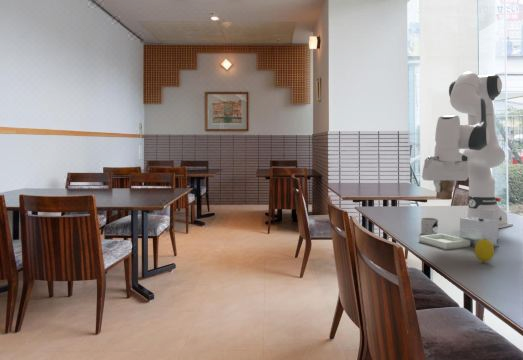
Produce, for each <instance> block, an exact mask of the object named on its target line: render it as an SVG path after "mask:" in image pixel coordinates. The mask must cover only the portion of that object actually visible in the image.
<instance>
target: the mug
mask: <svg viewBox="0 0 523 360" xmlns="http://www.w3.org/2000/svg"><path fill="white" fill-rule="evenodd" d="M438 222H439V220H438V218H435V217H421V225H420V229H421V230H420V232H421V233H420V234H421V235H422V236H423V235H433V234H438V228H439V227H438V225H439V223H438Z"/></svg>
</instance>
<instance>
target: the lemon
mask: <svg viewBox="0 0 523 360" xmlns="http://www.w3.org/2000/svg"><path fill="white" fill-rule="evenodd" d="M494 248H495V247H493V245H492V243H491V242H490V241H488V240H486V239H483V240H480V241H478V242H477V244H476V246H475V247H474V254H475V257H476V258H477V260H480V261H481V262H482V263H483V264H485V263H486V262H489V261H490V260H492V259H493V257H494V255H495V249H494Z"/></svg>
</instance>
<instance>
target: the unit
mask: <svg viewBox="0 0 523 360" xmlns="http://www.w3.org/2000/svg"><path fill="white" fill-rule="evenodd" d="M459 238H463V239H467V240H470V247H472V248H475V246H476V244H477V242H478V241H480V240H483V239H486V240H488V241H490V242H491V243H492V245H493V247H494V248H500V245H499V244H497V243H498V242H497V241H498V239H497V220H491V219H486V218H480V217H466V216H465V217H460V218H459Z"/></svg>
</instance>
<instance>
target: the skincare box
mask: <svg viewBox="0 0 523 360" xmlns="http://www.w3.org/2000/svg"><path fill="white" fill-rule="evenodd" d="M479 216H480V218H486V219H491V220H497V240H499V232H500V231H499V230H500V228H499V210H493V209H480V210H479Z"/></svg>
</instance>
